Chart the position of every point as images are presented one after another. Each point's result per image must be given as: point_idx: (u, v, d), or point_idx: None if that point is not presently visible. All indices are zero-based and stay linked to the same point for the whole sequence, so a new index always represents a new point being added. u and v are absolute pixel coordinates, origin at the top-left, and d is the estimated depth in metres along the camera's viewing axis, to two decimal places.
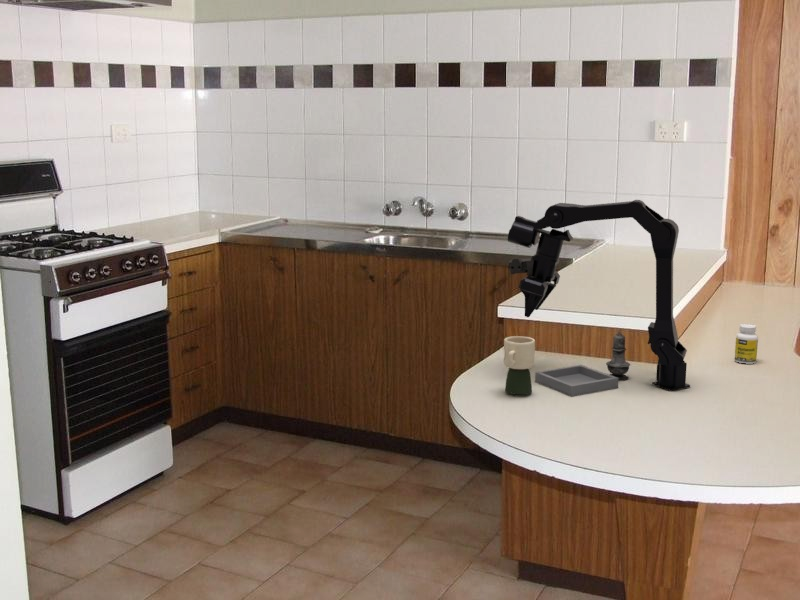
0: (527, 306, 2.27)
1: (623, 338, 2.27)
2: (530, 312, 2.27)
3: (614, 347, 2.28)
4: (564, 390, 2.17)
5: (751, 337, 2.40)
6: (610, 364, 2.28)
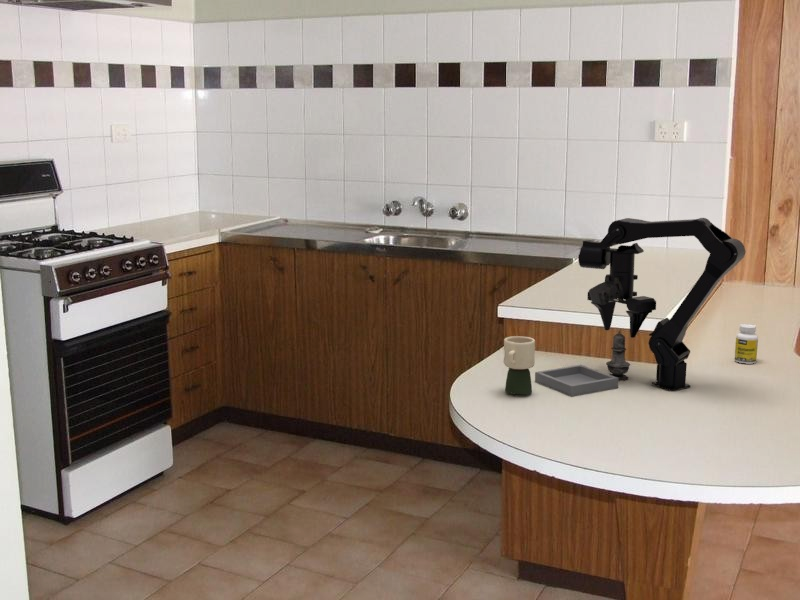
0: (633, 327, 2.23)
1: (623, 338, 2.27)
2: (636, 331, 2.23)
3: (614, 347, 2.28)
4: (564, 390, 2.17)
5: (751, 337, 2.40)
6: (610, 364, 2.28)
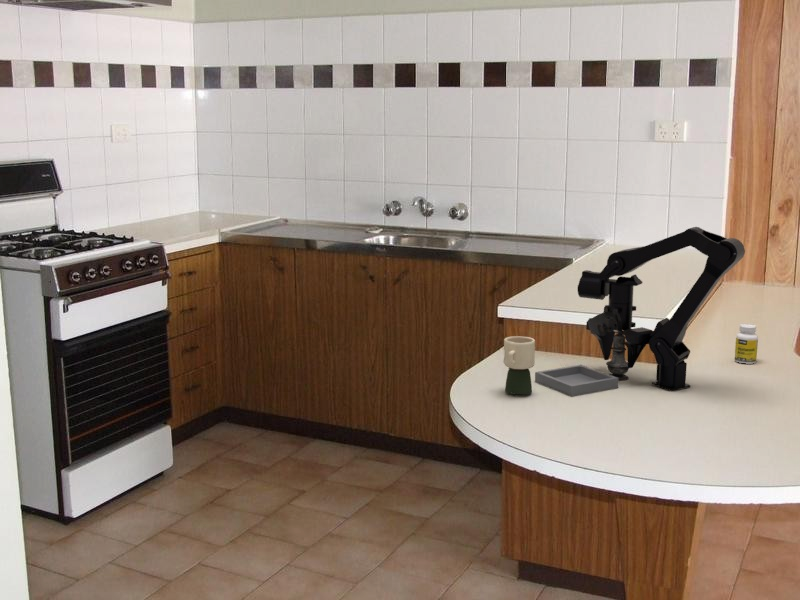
0: (631, 358, 2.24)
1: (623, 338, 2.27)
2: (634, 362, 2.25)
3: (614, 347, 2.28)
4: (564, 390, 2.17)
5: (751, 337, 2.40)
6: (610, 364, 2.28)
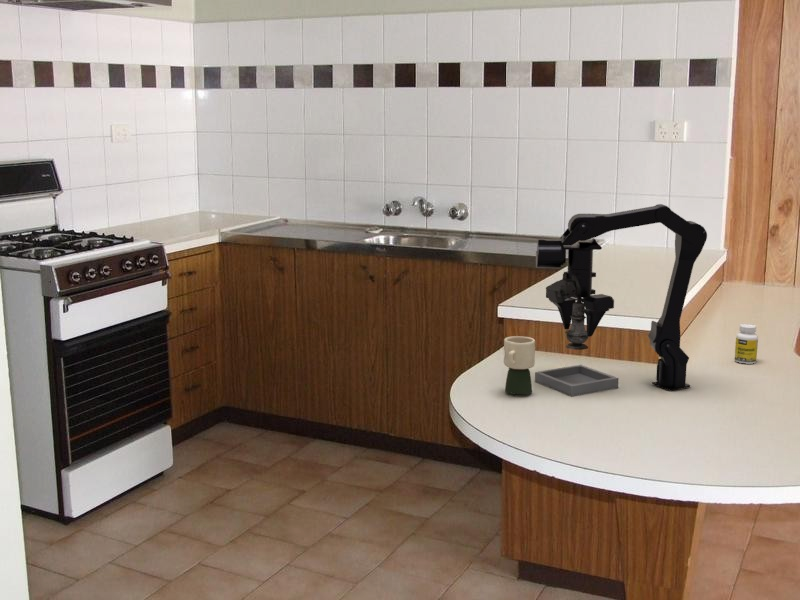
0: (590, 326, 2.17)
1: (583, 305, 2.19)
2: (593, 330, 2.17)
3: (573, 315, 2.20)
4: (564, 390, 2.17)
5: (751, 337, 2.40)
6: (569, 333, 2.20)
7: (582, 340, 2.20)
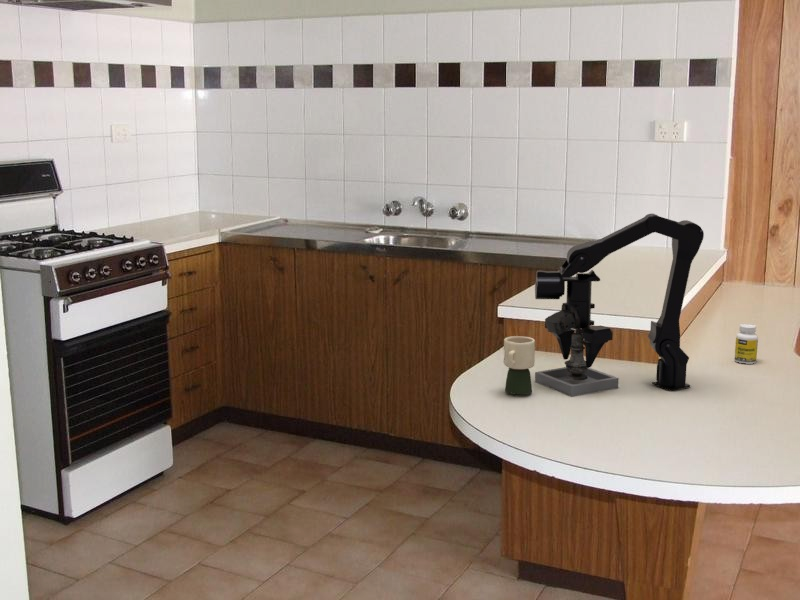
0: (589, 357, 2.18)
1: (582, 336, 2.21)
2: (592, 361, 2.19)
3: (572, 346, 2.22)
4: (564, 390, 2.17)
5: (751, 337, 2.40)
6: (569, 363, 2.22)
7: (582, 371, 2.21)
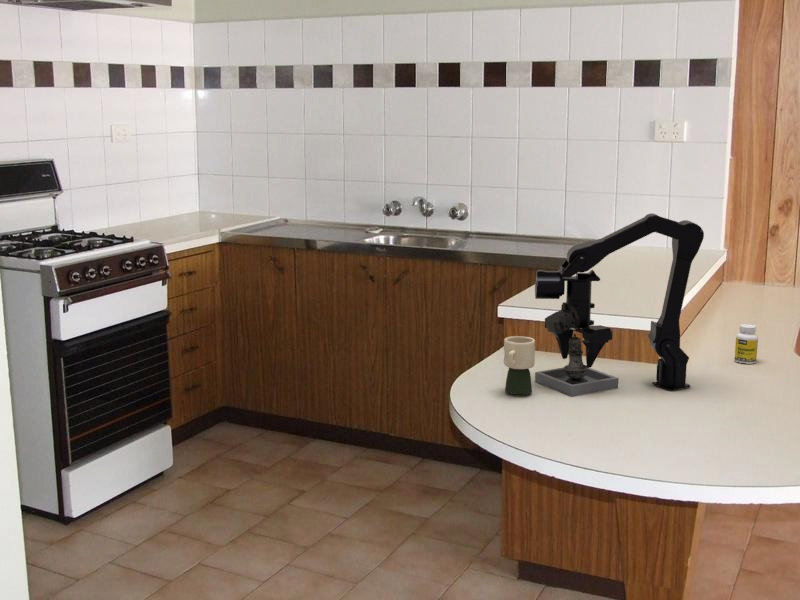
0: (590, 357, 2.18)
1: (570, 341, 2.21)
2: (593, 361, 2.19)
3: None
4: (564, 390, 2.17)
5: (751, 337, 2.40)
6: None
7: (566, 374, 2.23)
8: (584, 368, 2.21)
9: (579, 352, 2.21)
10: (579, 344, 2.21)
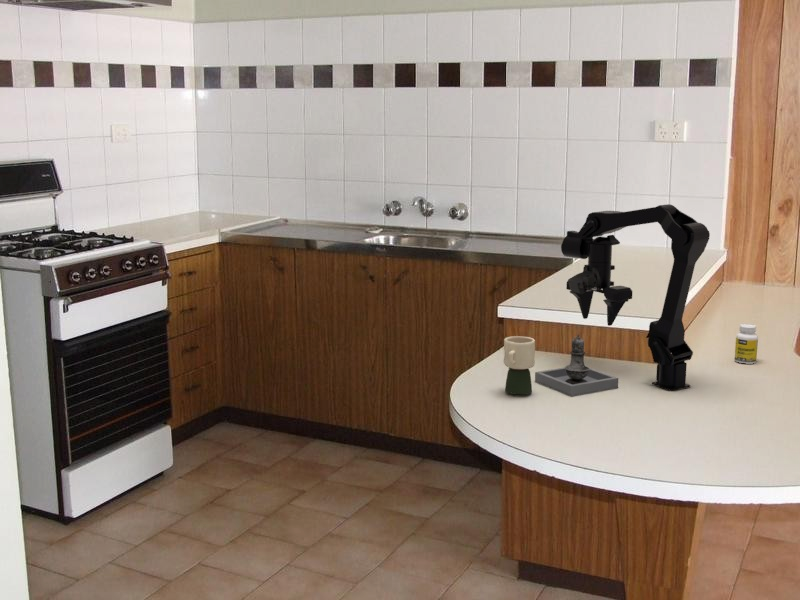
0: (611, 315, 2.31)
1: (573, 341, 2.22)
2: (613, 319, 2.32)
3: None
4: (564, 390, 2.17)
5: (751, 337, 2.40)
6: None
7: (567, 374, 2.23)
8: (585, 369, 2.21)
9: (581, 353, 2.21)
10: (582, 344, 2.21)
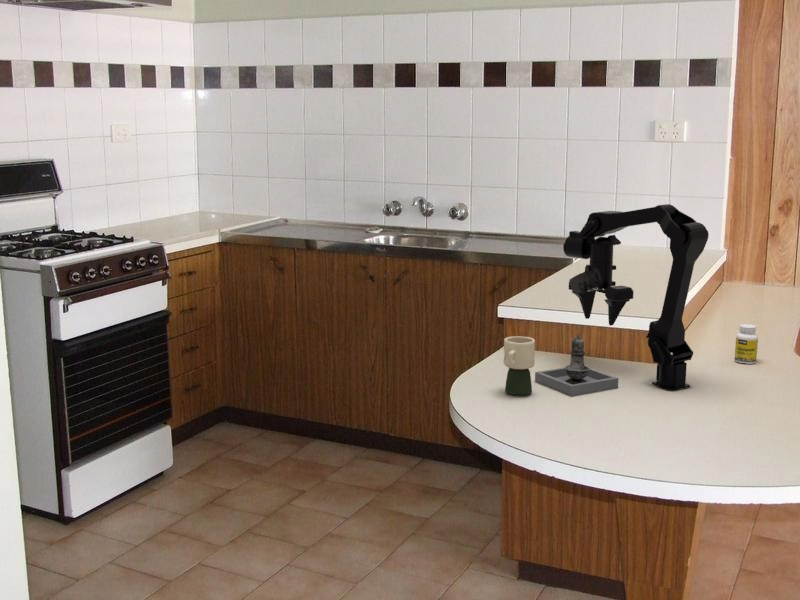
0: (612, 315, 2.32)
1: (573, 341, 2.22)
2: (615, 319, 2.33)
3: None
4: (564, 390, 2.17)
5: (751, 337, 2.40)
6: None
7: (567, 374, 2.23)
8: (585, 369, 2.21)
9: (581, 353, 2.21)
10: (582, 344, 2.21)
